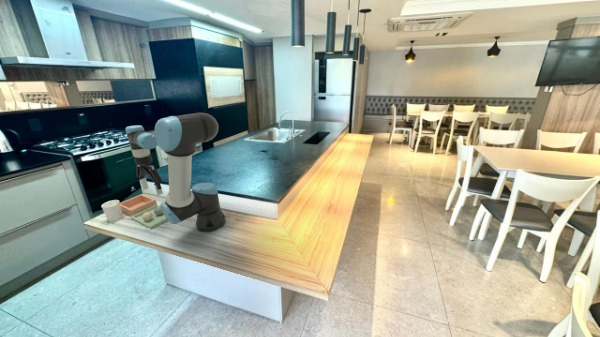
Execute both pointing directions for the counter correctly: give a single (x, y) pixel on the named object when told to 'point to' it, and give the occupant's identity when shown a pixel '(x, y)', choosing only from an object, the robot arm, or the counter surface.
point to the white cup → (112, 210)
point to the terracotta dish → (137, 204)
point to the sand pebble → (147, 216)
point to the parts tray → (154, 221)
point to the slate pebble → (158, 210)
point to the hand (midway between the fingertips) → (152, 191)
